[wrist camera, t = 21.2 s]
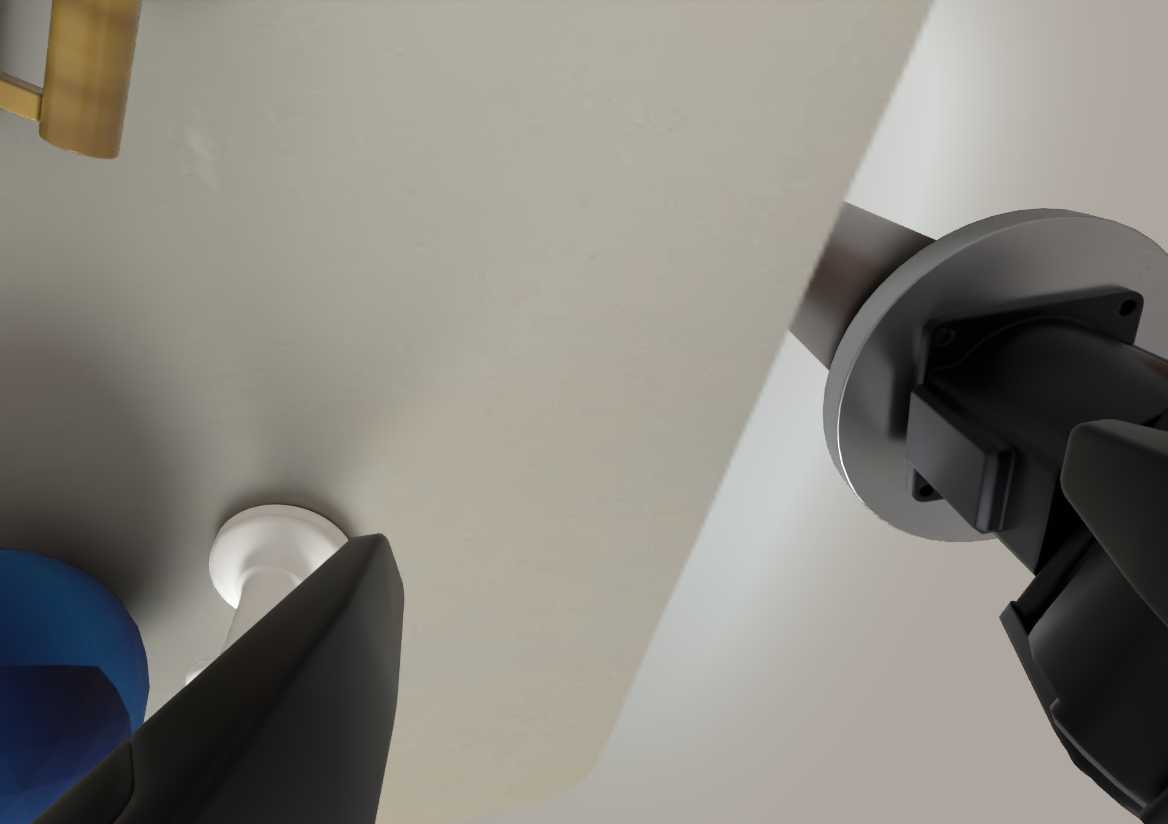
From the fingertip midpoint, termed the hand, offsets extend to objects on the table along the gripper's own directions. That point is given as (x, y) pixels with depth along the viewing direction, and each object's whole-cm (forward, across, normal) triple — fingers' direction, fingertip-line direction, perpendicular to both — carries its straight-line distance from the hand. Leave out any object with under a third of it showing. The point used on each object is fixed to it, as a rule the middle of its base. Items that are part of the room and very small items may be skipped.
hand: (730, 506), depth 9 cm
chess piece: (+13, +13, +9) cm, 21 cm away
